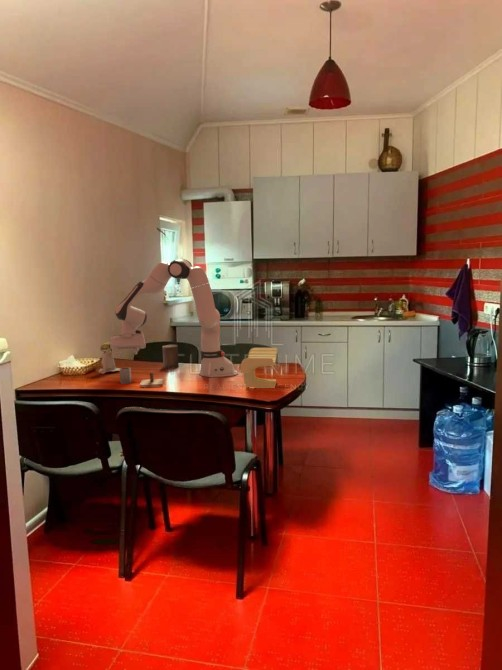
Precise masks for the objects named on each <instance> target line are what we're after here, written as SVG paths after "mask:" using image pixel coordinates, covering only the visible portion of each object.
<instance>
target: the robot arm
mask: <svg viewBox="0 0 502 670" xmlns="http://www.w3.org/2000/svg"><path fill="white" fill-rule="evenodd" d="M171 278H174V279H177V280H178V279H179V280H185V279H186V281H187V282H188V283H189V286H190V287H189V288H190V289H191V290H190V291H191V294H192V297H193V300H194V305H195V310H196V316H197V319H198V322H199V325H200V326H201V333H200V360H201V361H200V368H199V369H200V370H199V375H200V376H202V377H208V378H219V377H220V378H221V377H222V378H223V377H230V376H231V377H232V376H237V375H238V370H236V369H235V367H234V364H233V362H232V361H231V360H230V359H228V358H227V357H225V354H226V353H225V352H224V351H223V350H222V349H221V336H220V334H221V314H220V312H219V310H218V309H217V308H216V305H215V301H214V295H213V292H212V287H211V284H210V281H209V278H208V276H207V274H206V271H205V269H204V268H203V267H202V266H193V265H192V263H191V261H189V260H187V259H183V258H177V259H174V260H172V261H171V262H170V263H169V262H166V261H159V262H158V263H157V264H155V266H154V267H153V269H152V270H151V272H150V273H149V275H148V277H146V278H145V279H144V280H141V281H139V282H138V283H136V284H135V286H134V287H133V288H132V290H131V291H130V292H129V293H128V294H127V296H126V297H125V298H124V299H123V300H122V301H121V302H120V303H119V304H118V305H117V306H116V308H115V311H114V313H115V316H116V319H118V320H120V321H121V331H120V334H118V335H117V334H116V335H113V336H111V337H110V342H111V343H110V348H111V349H112V351H113V350H116V352H117V356H121V354H122V353H121V350H133V351H134V353H133V354H134V355H138V352H139V351H140V350H141V349H146V347H147V346H146V345H147V344H146V339H145V334H144V332H143V330H139V329H138V328H141V327H142V326H144V325H145V324H146V323H147V320H148V317H147V316H148V315H147V312H146V311H145V310H142V309H140V308H139V307H135V306H132V305H133V303H134V301H135V300H136V299H137V298H138V297H139V296H141V295H145V294H146V295H149V294H150V295H157V294H160V293H161V292H163V290H164V289H165V288H166V286H167V284H168V283H169V281H170V279H171Z"/></svg>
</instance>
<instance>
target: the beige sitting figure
mask: <svg viewBox="0 0 502 670" xmlns="http://www.w3.org/2000/svg"><path fill="white" fill-rule="evenodd" d="M110 343H111V341H110V342H109V341H107V342H104V343H102V345H100V347H99V348H100V349H99V350H100V351H101V352H103V355H102V359H101V363H100V364H101V366H102V367H103V368H100V369H99V370H98V373H99V374H102V375H103V374H105V373H109V372H113V373H114V372H120V369H121V368H119V367H117V366H116V363H115V359H114V356H113V354H112V353H113V350H112V349H111V348H110Z"/></svg>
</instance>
